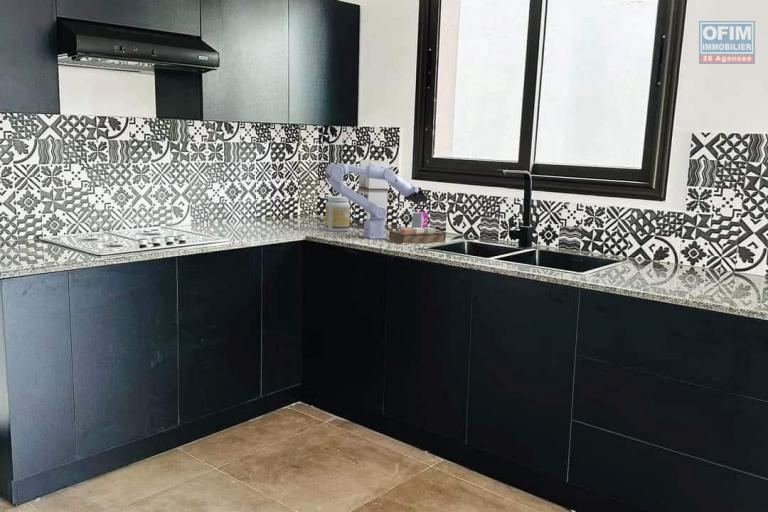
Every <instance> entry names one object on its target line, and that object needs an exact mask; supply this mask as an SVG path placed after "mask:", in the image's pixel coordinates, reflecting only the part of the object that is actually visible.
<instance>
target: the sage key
mask: <svg viewBox="0 0 768 512" xmlns="http://www.w3.org/2000/svg"><path fill="white" fill-rule="evenodd" d="M423 229H424V232H427V233H431V232H435V231H437V228H433V227H430V226H429V227H428V226H427V227H426V228H423Z"/></svg>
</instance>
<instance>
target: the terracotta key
mask: <svg viewBox="0 0 768 512" xmlns="http://www.w3.org/2000/svg"><path fill="white" fill-rule="evenodd" d="M399 231H400V232H401V233H413V229H411V228H408V227H402V228H399Z"/></svg>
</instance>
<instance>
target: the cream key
mask: <svg viewBox="0 0 768 512" xmlns="http://www.w3.org/2000/svg"><path fill="white" fill-rule="evenodd" d="M410 229H413V232H414V233H424V229H422V228H412V227H411V228H410Z"/></svg>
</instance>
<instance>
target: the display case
mask: <svg viewBox="0 0 768 512" xmlns="http://www.w3.org/2000/svg"><path fill="white" fill-rule="evenodd" d="M368 165H370V166H371V165H374V166H376V167H381V166H382V167H384V168H388V169H390V161H385V160H380V159H379V160H376V159H375V160H374V159H359V167H364V168H365V167H367V166H368ZM388 191H389V183H388V182H387V181H385V180H381V179H374V178H367V177H366V176H365V174H359V173H358V192H357V193H358V194H360V195H364V197H365V198H366V199H368V200H369V201H371V202H373V203H375V204H378V205H380V206H383V207H385V208H386V210H387V211H388V197H389V196H388V194H389V193H388ZM363 210H364V213H365V214H366V217H365V218H366V219H365V220H367V219H370V216H371V215H370V214H369V212H368V211H367V210H365V209H364V208H363ZM356 227H357V228H361V229H363V230H364V222H356ZM386 229H387V216H386V217H385V228H384V230H386Z"/></svg>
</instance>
